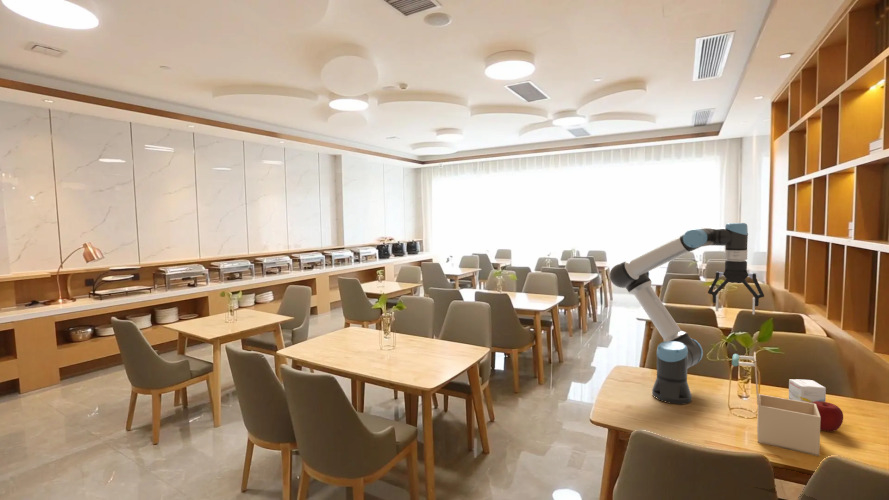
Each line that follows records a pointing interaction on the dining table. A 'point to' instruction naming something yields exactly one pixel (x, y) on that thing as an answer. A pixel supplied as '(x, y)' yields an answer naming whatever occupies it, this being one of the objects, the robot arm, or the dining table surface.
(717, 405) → the dining table surface
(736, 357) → the flap
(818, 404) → the apple
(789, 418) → the carton
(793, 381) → the ink box
